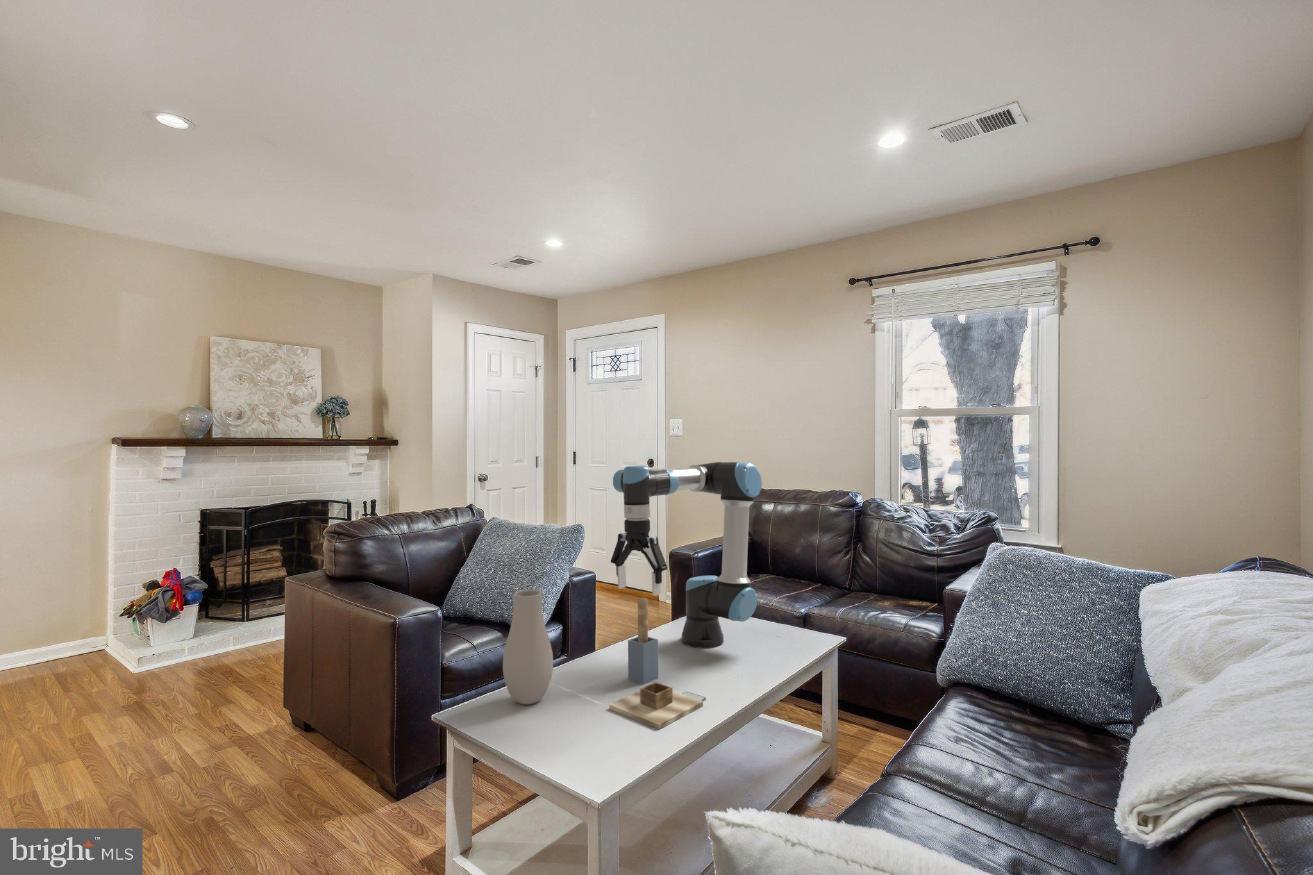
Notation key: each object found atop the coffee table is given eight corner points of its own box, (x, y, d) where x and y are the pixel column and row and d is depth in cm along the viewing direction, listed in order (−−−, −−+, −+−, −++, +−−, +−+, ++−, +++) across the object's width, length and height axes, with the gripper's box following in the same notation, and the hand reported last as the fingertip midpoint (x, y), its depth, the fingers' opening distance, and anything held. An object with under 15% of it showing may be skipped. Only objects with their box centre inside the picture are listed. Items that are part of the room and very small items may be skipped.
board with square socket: (653, 688, 178) (653, 670, 178) (703, 705, 166) (702, 686, 166) (609, 708, 164) (609, 689, 165) (659, 729, 152) (659, 708, 153)
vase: (548, 711, 163) (548, 598, 164) (497, 711, 163) (496, 599, 164) (556, 690, 177) (556, 586, 177) (509, 690, 177) (508, 587, 177)
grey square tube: (642, 673, 189) (642, 635, 189) (658, 679, 185) (657, 639, 185) (628, 679, 185) (628, 640, 185) (643, 685, 180) (643, 644, 180)
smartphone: (707, 697, 171) (677, 717, 158) (707, 700, 171) (677, 720, 158) (685, 690, 175) (654, 709, 163) (685, 693, 175) (654, 712, 163)
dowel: (643, 675, 187) (642, 597, 187) (650, 678, 185) (649, 598, 185) (636, 678, 185) (635, 599, 185) (643, 681, 183) (642, 600, 183)
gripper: (598, 517, 184) (599, 587, 184) (661, 523, 168) (663, 600, 168) (615, 514, 190) (617, 582, 190) (678, 520, 173) (680, 594, 173)
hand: (638, 591), depth 179 cm, fingers open, 13 cm apart
